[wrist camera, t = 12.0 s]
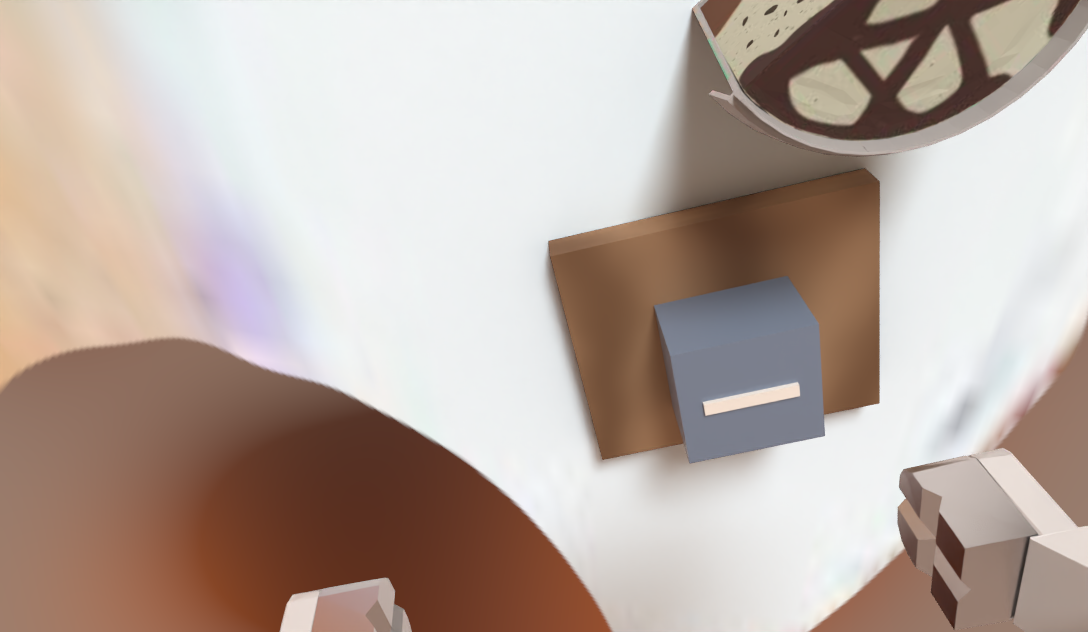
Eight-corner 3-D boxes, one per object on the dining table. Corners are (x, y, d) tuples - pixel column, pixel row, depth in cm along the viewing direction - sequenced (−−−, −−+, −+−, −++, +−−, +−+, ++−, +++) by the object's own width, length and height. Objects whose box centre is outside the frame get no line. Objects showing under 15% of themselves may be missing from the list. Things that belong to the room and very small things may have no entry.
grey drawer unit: (672, 407, 37) (690, 466, 34) (653, 305, 34) (671, 358, 31) (795, 381, 37) (826, 439, 33) (787, 275, 34) (820, 326, 30)
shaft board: (599, 440, 40) (609, 502, 36) (548, 241, 34) (553, 290, 30) (867, 384, 39) (906, 443, 35) (865, 168, 33) (912, 210, 29)
